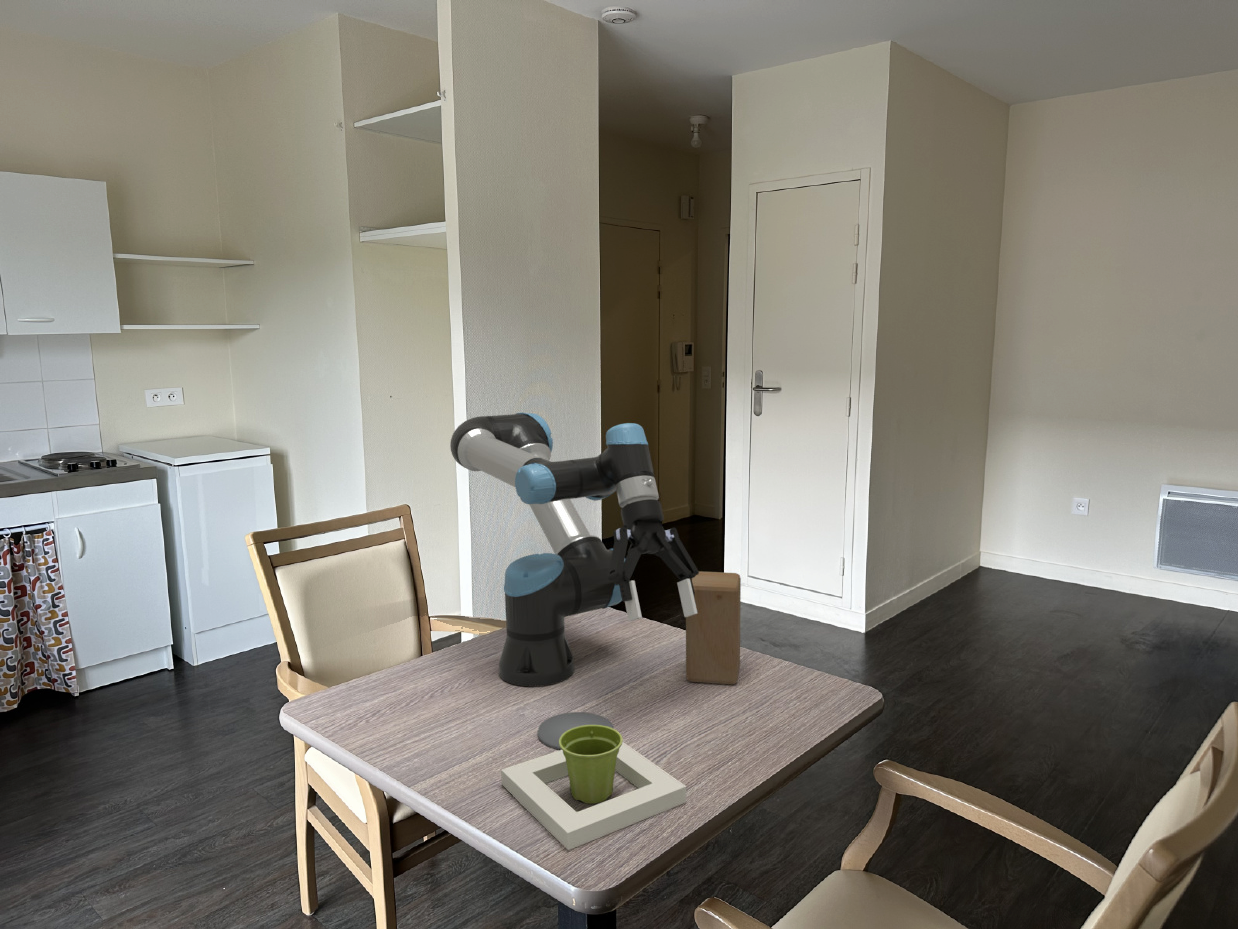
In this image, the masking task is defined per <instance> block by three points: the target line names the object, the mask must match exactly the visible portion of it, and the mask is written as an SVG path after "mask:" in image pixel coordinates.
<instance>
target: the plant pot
mask: <svg viewBox="0 0 1238 929" xmlns="http://www.w3.org/2000/svg"><path fill="white" fill-rule="evenodd" d="M622 742H624V741H623V736H622V734H621V733H620V732H619V731H618V730H617V729H615V728H614V729H613V728H610V727H607V726H602V725H583V726H578V727H575V728H572V729H570V730H568V731H566V732H565V733H563V734H562V735H561V737H560V739H559V746H560V748H561V749H562V750H563V754H564V756H565V759H566V765H567V770H568V780H569V787H570V791H571V792H570V793H571V796H572V797H573V799H574V800H576V801H581V802H583V803H584V804H588V805H589V804H590V805H593V804H595V805H596V804H600V803H602V802H605V801H607V799H608V798H609V797H610V796H612V795H613V788H614V781H615V772H616V771H615V766H616V759H617V754H618V753H619V748H620V747H621V745H622Z"/></svg>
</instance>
